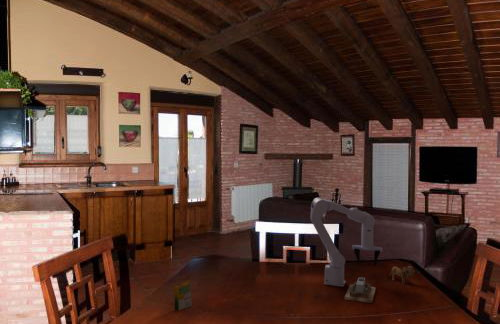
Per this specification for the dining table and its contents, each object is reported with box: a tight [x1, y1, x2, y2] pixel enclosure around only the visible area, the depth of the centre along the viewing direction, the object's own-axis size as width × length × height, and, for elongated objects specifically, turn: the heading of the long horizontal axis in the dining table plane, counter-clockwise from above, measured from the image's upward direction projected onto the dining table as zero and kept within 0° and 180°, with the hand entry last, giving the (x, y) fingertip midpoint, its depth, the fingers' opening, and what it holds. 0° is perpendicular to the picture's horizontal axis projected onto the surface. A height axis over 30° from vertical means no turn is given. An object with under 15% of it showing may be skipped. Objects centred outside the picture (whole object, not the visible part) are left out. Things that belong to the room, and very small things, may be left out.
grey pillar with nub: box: [356, 276, 366, 293], centre depth 196 cm, size 3×10×6 cm, turn 159°
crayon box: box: [173, 279, 192, 312], centre depth 180 cm, size 7×3×12 cm, turn 141°
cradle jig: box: [344, 281, 377, 304], centre depth 197 cm, size 12×18×3 cm, turn 159°
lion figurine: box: [387, 265, 415, 284], centre depth 216 cm, size 15×5×9 cm, turn 38°
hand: (366, 264), depth 212 cm, fingers open, 7 cm apart
